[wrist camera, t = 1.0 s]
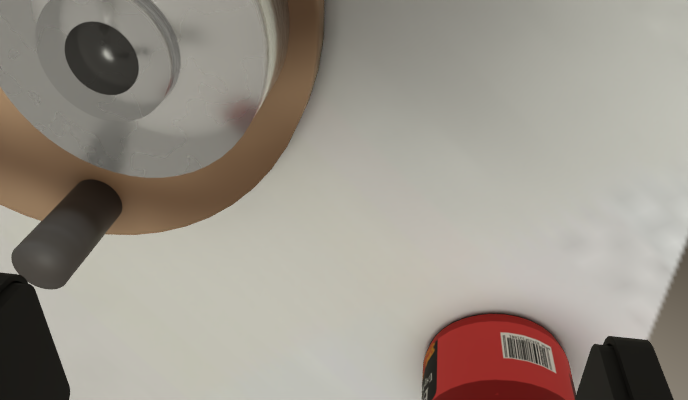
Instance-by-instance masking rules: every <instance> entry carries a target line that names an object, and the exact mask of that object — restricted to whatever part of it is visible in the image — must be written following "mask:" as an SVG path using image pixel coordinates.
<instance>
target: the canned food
mask: <svg viewBox="0 0 688 400" xmlns="http://www.w3.org/2000/svg"><path fill="white" fill-rule="evenodd" d="M575 397H576V392H575V388H574V384H573V379H572V375H571V371H570V366H569V362H568V359H567V357H566V355H565V352H564V351H563V349H562V348H561V346H560V345H559V343H558V342H557V341H556V339H555V338H554V337H553V336H552V334H551V333H549V332H548V331H547V330H546V329H544V328H543V327H542V326H540V325H538V324H536V323H534V322H532V321H530V320H527V319H524V318H521V317H517V316H511V315H506V314H483V315H476V316H471V317H467V318H464V319H461V320H459V321H456V322H454V323H452V324H450V325H449V326H447V327H445V328H444V329H443V330H441V331H440V332H439V333H438V334H437V335H436V336H435V338H434V339H433V341H432V342H431V344H430V346H429V348H428V350H427V353H426V355H425V359H424V362H423V382H422V400H575Z"/></svg>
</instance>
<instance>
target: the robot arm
mask: <svg viewBox="0 0 688 400" xmlns="http://www.w3.org/2000/svg"><path fill="white" fill-rule="evenodd" d="M69 397H70V387H69V384H68V381H67V378H66V375H65V373H64V370H63V367H62V364H61V361H60V359H59V356H58V353H57V350H56V347H55V344H54V342H53V339H52V336H51V333H50V330H49V328H48V325H47V322H46V319H45V316H44V314H43V311H42V308H41V305H40V302H39V300H38V297H37V294H36V291H35V289H34V287H33V286H32V285H30V284H28V282H27V280H26V279H25V278H24V277H23V276H22V275H17V274H8V273H0V400H69ZM575 400H673V397H672V394H671V392H670V389H669V387H668V384H667V382H666V379H665V376H664V374H663V371H662V369H661V366H660V364H659V361H658V358H657V356H656V353H655V351H654V348H653V346H652V345H651V343H650V342H649V341H648V340H642V339H632V338H622V337H613V336H608V337H607V338H606V339H605V341H604V344H603V345H598V344H594V345H593V346H592V348H591V351H590V354H589V357H588V360H587V363H586V366H585V369H584V372H583V376H582V379H581V382H580V385H579V388H578V391H577V394H576V397H575Z"/></svg>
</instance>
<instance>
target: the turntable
mask: <svg viewBox="0 0 688 400" xmlns="http://www.w3.org/2000/svg"><path fill="white" fill-rule="evenodd" d="M287 2H288V10H289V42H288V50H287V54H286V57H285V61H284V65H283V67H282V70H281V72H280V74H279V76H278V79H277V81H276V82H275V84H274V85H273V87H272V89H271V90H270V92H269V94H268V95H267V97H266V99H265V100H264V102H263V104H262V105H261V107H260V108H259V110H258V112H257V113H256V115H255V117H254V118H253V120H252V122H251V123H250V125H249V126H248V128H247V130H246V131H245V133H244V134H243V136H242V137H241V138H240V140H239V141H238V142H237V143H236V144H235V145H234V147H233V148H232V149H230V150H229V151H228V152H227V153H226V154H225V155H223V156H222V157H221V158H220V159H218V160H216V161H215V162H213V163H211V164H210V165H208V166H206V167H203V168H201V169H199V170H196V171H194V172H191V173H187V174H183V175H179V176H172V177H164V178H145V177H136V176H129V175H124V174H120V173H115V172H112V171H109V170H106V169H103V168H100V167H97V166H95V165H92V164H90V163H88V162H86V161H84V160H81V159H79V158H78V157H76V156H74V155H72V154H71V153H69V152H67V151H65V150H64V149H62V148H61V147H59V146H58V145H57V144H55V143H54V142H52V141H51V140H50V139H48V138H47V137H46V136H45V135H43V134H42V133H41V132H40V131H39V130H38V129H36V128H35V127H34V126H33V125H32V124H31V123H30V122H29V121H28V120H27V119H26V118H25V117H24V116H23V115H22V114H21V113H20V112H19V111H18V109H17V108H16V107H15V106H14V105H13V103H12V102H11V101H10V100H9V98H8V97H7V96H6V94H5V93H4V91H3V90H2V88H1V87H0V205H2V206H5V207H7V208H9V209H12V210H14V211H16V212H18V213H21V214H23V215H26V216H29V217H32V218H35V219H38V220H41V222H40V223H39V224H38V225H37V226H36V227H35V229H34V230H33V231H32V232H31V233H30V234H29V235H28V236H27V237H26V238H25V239H24V240H23V241H22V242H21V243H20V244H19V245H18V246H17V247H16V248H15V249H14V251H13V252H12V263H13V266H14V268H15V270H16V271H17V272H18V274H19V275H22V276H23V277H24V278H25V279H26V280H27V281H28V282H29V283H31V284H33V285H35V286H37V287H40V288H44V289H58V288H60V287H62V286H64V285H65V284H66V282H67V281H68V280H69V279H70V277H71V276H72V275H73V274H74V272H75V271H76V270H77V269H78V267H79V266H80V265H81V263H82V262H83V261H84V260H85V258H86V257H87V256H88V255H89V253H90V252H91V251H92V250H93V248H94V247H95V246H96V245H97V243H98V242H99V241H100V239H101V238H102V237H103V236H104V234H116V235H138V234H148V233H157V232H164V231H168V230H172V229H176V228H181V227H185V226H188V225H191V224H193V223H196V222H199V221H201V220H204V219H206V218H209V217H211V216H213V215H215V214H216V213H218V212H220V211H222V210H224V209H225V208H227V207H229V206H231V205H233V204H234V203H235V202H236V201H238V200H239V199H240V198H242V197H243V196H244V195H245V194H247V193H248V192H249V191H251V190H252V189H253V188H254V187H255V186H256V185H257V184H258V183H259V182H260V181H261V180H262V179H263V177H264V176H265V175H266V174H267V173H268V172H269V171H270V170H271V169H272V168H273V166H274V165H275V163H276V162H277V160H278V159H279V157H280V156H281V154H282V153H283V151H284V150H285V149H286V147H287V145H288V143H289V141H290V139H291V137H292V135H293V133H294V131H295V129H296V127H297V125H298V122H299V120H300V118H301V116H302V114H303V112H304V110H305V107H306V105H307V103H308V101H309V98H310V95H311V92H312V89H313V85H314V82H315V79H316V76H317V73H318V68H319V62H320V56H321V50H322V44H323V34H324V0H287Z"/></svg>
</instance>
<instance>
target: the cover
mask: <svg viewBox="0 0 688 400" xmlns="http://www.w3.org/2000/svg"><path fill="white" fill-rule="evenodd" d="M288 42H289V10H288V2H287V0H0V87H1V88H2V90H3V91H4V93H5V94H6V96H7V97H8V98H9V100H10V101H11V102H12V103H13V105H14V106H15V107H16V108H17V109H18V111H19V112H20V113H21V114H22V115H23V116H24V117H25V118H26V119H27V120H28V121H29V122H30V123H31V124H32V125H33V126H34V127H35V128H36V129H38V130H39V131H40V132H41V133H42V134H43V135H45V136H46V137H47V138H48V139H50V140H51V141H52V142H54V143H55V144H57V145H58V146H59V147H61V148H62V149H64V150H65V151H67V152H69V153H71V154H72V155H74V156H76V157H78V158H79V159H81V160H84V161H86V162H88V163H90V164H92V165H95V166H97V167H100V168H103V169H106V170H109V171H112V172H115V173H120V174H124V175H129V176H136V177H145V178H164V177H172V176H179V175H183V174H187V173H191V172H194V171H196V170H199V169H201V168H203V167H206V166H208V165H210V164H211V163H213V162H215V161H216V160H218V159H220V158H221V157H222V156H223V155H225V154H226V153H227V152H228V151H229V150H230V149H232V148H233V147H234V145H235V144H236V143H237V142H238V141H239V140H240V138H241V137H242V136H243V134H244V133H245V131H246V130H247V128H248V126H249V125H250V123H251V122H252V120H253V118H254V117H255V115H256V113H257V112H258V110H259V108H260V107H261V105H262V104H263V102H264V100H265V99H266V97H267V95H268V94H269V92H270V90H271V89H272V87H273V85H274V84H275V82H276V81H277V79H278V76H279V74H280V72H281V70H282V67H283V65H284V61H285V57H286V54H287V50H288Z"/></svg>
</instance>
